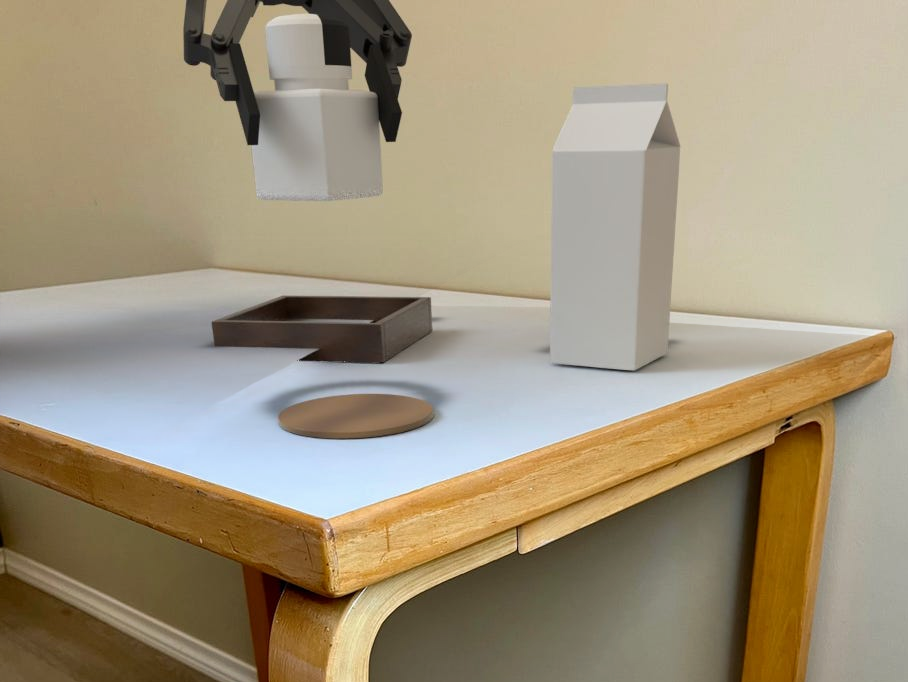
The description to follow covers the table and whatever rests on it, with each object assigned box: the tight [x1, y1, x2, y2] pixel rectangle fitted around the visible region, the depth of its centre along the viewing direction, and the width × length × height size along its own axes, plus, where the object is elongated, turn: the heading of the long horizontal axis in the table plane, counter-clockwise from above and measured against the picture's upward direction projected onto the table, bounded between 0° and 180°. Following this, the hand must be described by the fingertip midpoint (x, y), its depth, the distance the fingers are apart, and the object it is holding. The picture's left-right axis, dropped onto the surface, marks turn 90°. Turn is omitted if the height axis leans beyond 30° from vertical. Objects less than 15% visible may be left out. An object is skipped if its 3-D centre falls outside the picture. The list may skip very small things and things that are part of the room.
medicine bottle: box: [250, 13, 384, 202], centre depth 75 cm, size 7×7×12 cm
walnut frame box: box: [211, 295, 433, 363], centre depth 88 cm, size 15×15×3 cm
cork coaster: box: [277, 393, 435, 440], centre depth 65 cm, size 10×10×1 cm
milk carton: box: [549, 82, 681, 371], centre depth 75 cm, size 7×7×19 cm
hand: (325, 128), depth 73 cm, fingers closed on medicine bottle, 10 cm apart
